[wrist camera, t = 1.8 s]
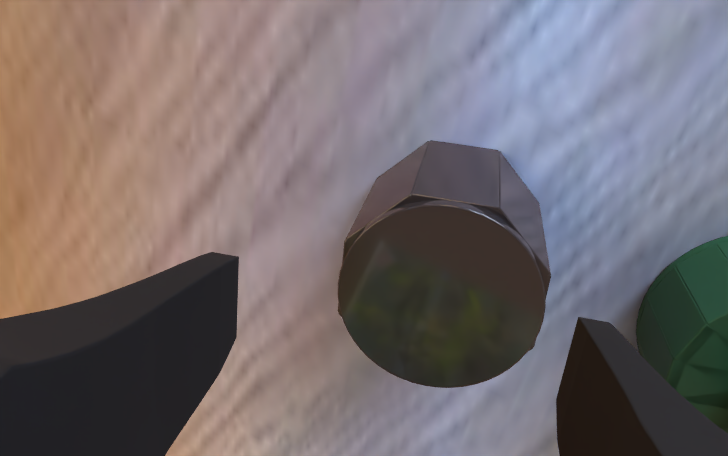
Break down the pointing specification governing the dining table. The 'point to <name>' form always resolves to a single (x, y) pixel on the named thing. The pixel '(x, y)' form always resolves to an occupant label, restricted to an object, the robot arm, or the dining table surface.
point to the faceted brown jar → (446, 268)
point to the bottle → (691, 328)
